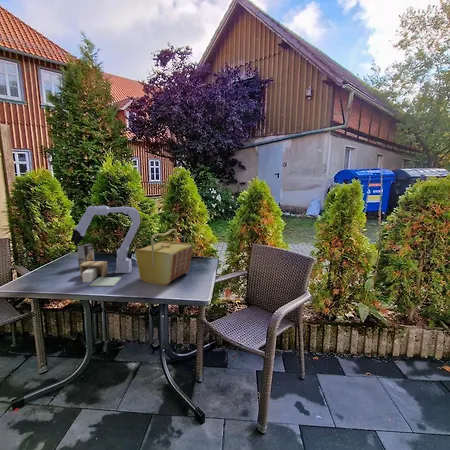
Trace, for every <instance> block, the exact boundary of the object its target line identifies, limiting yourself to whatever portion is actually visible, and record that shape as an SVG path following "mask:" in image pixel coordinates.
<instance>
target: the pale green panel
mask: <svg viewBox="0 0 450 450" xmlns="http://www.w3.org/2000/svg"><path fill="white" fill-rule="evenodd" d="M97 277H98V276H97ZM97 277H96V278H95V279H94V280H93V281H91V282H90V284H89V285H88V286H89V287H114V286H115V285H117V284H118V282H119V281H121V279H122V277H120V276H119V277H116V276H115V277H114V276H113V277H111V276H110V277H107V276H105V277H102V276H99V277H98V278H97Z"/></svg>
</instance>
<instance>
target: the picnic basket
mask: <svg viewBox="0 0 450 450" xmlns="http://www.w3.org/2000/svg"><path fill="white" fill-rule="evenodd" d="M173 231H174V241H167V240H161V241H159V242H156V243H154V238H155V237H157V236H159V237H164V236H165V237H166V236H167V235H170V234H171V233H172V232H173ZM193 249H194V246H193V245H192V244H191V243H189V242H188V243H187V242H186V243H185V242H178V230H177V229H176V228H172V229H170V230H168V231H167V232H164V233H161V232H160V233H159V232H158V233H154V234H153V235H152V236H151V237H150V245H147V246H144V247H142V248H138V249H135V251H134V256H135V260H136V264H137V270H138V274H139V278H140V279H141V281H143V282H144V283H149V284H155V285H161V286H167V285H169V284H170V283H171V282H172V281H174V280H176V279H178V278H179V277H181V276H183V275H184V274H186V273H188V272H190V266H191V260H192V256H193Z"/></svg>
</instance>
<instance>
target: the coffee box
mask: <svg viewBox="0 0 450 450" xmlns="http://www.w3.org/2000/svg"><path fill="white" fill-rule="evenodd" d="M77 259H78V261H77V263H78V269H80V264H82V263H83V262H85V261H95V250H94V243H84V244H81V245H79V244H78V245H77Z"/></svg>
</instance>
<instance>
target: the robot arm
mask: <svg viewBox="0 0 450 450" xmlns="http://www.w3.org/2000/svg"><path fill="white" fill-rule="evenodd" d="M110 213H111V214H112V213H113V214H115V213H123V214H124V215H128V216H129V218H130V220H131V222H132V223H131V225H130V227H129V230H128V232H127V233H126V236H125V237H124V239H123V241H122V243H121V245H120V247H119V248H117V250H116V256H117V257H116V259H115V260H116V261H115V262H116V270H115V271H114V274H130V272H132V270H133V267H132V264H133V263H132V259H131V258H128V251H129V248H130V246H131V244H132V242H133V240H134V238H135V236H136V234H137V232H138V230H139V227H140V225H141V217H140V213H139V211H138V210H137V209H136V208H135V207H133V206H132V207H130V206H118V207H117V206H116V207H109V206H107V205H105V204H102V205H90V206H88V207H86V209H85V212H84V213H83V215H82V217H81V218H80V220H79V222H78V224H77V225H76V226H75V227H73V228H72V234H71V238H70V241H71V242H73V245H74V246H79V244H80V243H81V242H82V240H84V239H86V236H85V234H86V231H87V229H89V226H90V224H91V222H92V221H93V218H94V216H95V215H96V216H106V215H109V214H110Z"/></svg>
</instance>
